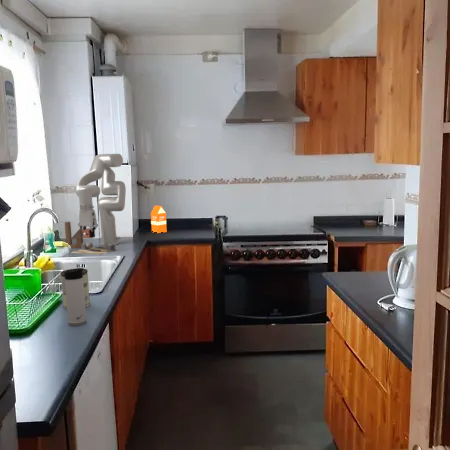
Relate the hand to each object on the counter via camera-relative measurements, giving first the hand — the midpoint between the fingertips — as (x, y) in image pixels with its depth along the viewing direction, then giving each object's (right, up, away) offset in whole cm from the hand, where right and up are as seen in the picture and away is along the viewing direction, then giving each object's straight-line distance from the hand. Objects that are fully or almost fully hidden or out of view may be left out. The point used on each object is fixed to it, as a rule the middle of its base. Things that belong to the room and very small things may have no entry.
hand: (89, 236), depth 314 cm
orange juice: (+32, +2, +80) cm, 86 cm away
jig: (+2, -10, +5) cm, 11 cm away
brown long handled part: (-14, -9, +18) cm, 24 cm away
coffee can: (+23, -25, -107) cm, 112 cm away
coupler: (0, 0, 0) cm, 0 cm away
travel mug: (+30, -28, -129) cm, 136 cm away
